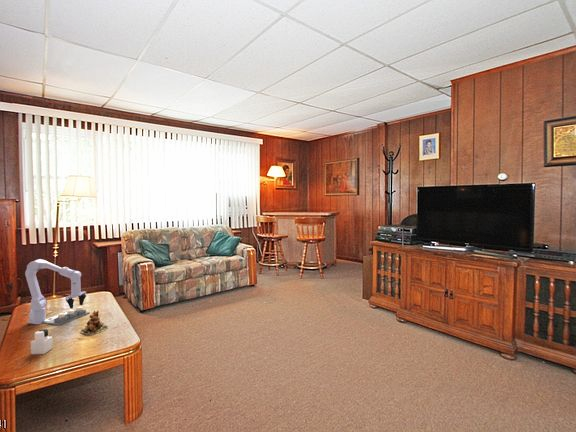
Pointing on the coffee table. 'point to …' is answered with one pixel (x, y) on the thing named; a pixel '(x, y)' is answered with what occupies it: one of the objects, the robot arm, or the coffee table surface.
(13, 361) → the coffee table surface
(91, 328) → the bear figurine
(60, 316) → the button
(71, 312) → the button middle
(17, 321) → the coffee table surface
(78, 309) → the button
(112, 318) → the coffee table surface
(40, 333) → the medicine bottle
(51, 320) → the console
